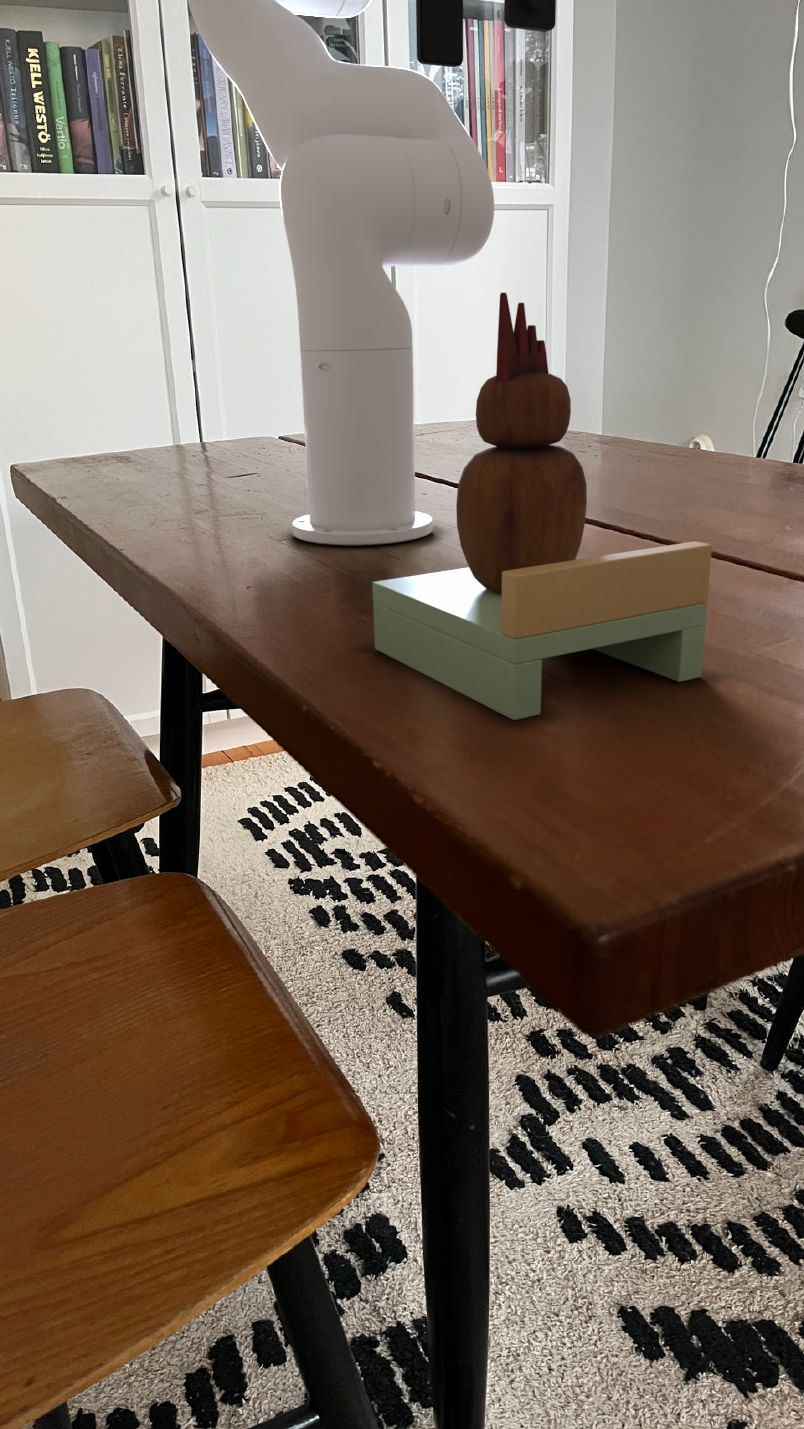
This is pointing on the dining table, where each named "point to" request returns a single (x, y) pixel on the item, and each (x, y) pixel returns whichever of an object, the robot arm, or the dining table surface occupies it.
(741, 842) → the dining table surface
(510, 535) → the wooden figurine
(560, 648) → the shelf
